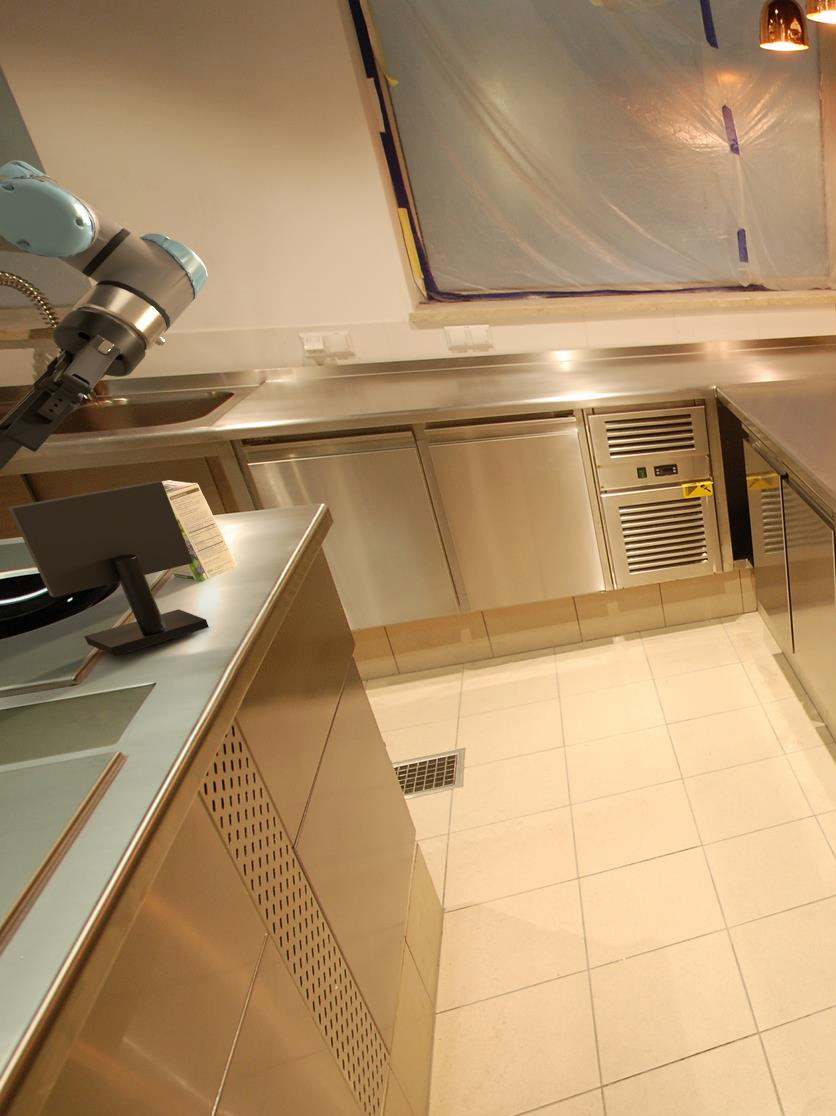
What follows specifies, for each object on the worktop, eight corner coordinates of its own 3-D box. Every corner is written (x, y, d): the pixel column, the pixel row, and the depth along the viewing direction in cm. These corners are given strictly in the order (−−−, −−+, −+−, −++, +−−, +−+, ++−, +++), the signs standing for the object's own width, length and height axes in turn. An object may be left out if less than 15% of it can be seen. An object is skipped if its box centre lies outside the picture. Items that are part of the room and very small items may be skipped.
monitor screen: (54, 597, 100) (12, 508, 95) (49, 595, 100) (7, 506, 96) (193, 563, 111) (162, 481, 107) (188, 561, 112) (157, 480, 107)
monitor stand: (114, 656, 104) (76, 571, 99) (87, 644, 107) (49, 561, 102) (209, 627, 112) (178, 548, 107) (182, 617, 115) (150, 539, 110)
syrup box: (175, 583, 126) (125, 492, 118) (213, 566, 131) (168, 477, 123) (205, 587, 125) (156, 495, 117) (242, 570, 130) (198, 481, 122)
